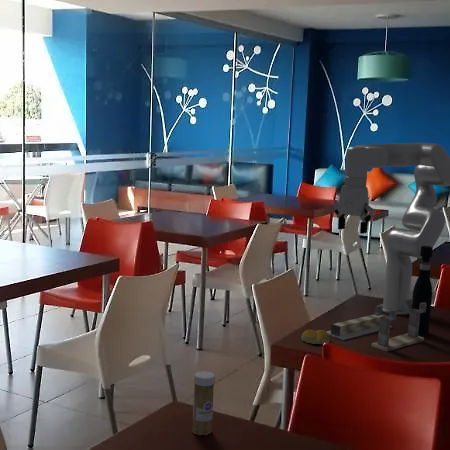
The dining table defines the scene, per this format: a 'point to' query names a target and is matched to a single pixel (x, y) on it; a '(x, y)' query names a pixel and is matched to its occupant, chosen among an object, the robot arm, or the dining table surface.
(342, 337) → the mat
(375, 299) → the dining table surface
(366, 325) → the rail
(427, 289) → the wine bottle
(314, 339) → the bread roll
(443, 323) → the dining table surface
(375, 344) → the rack
